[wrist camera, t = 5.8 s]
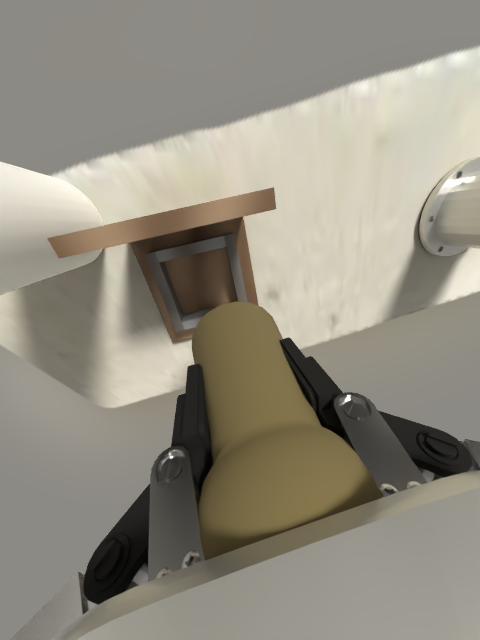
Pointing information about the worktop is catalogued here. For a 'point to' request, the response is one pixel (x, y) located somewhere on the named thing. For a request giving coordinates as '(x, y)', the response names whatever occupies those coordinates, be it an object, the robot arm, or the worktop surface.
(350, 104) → the worktop surface
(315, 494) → the cork
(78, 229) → the cylinder container
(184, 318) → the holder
